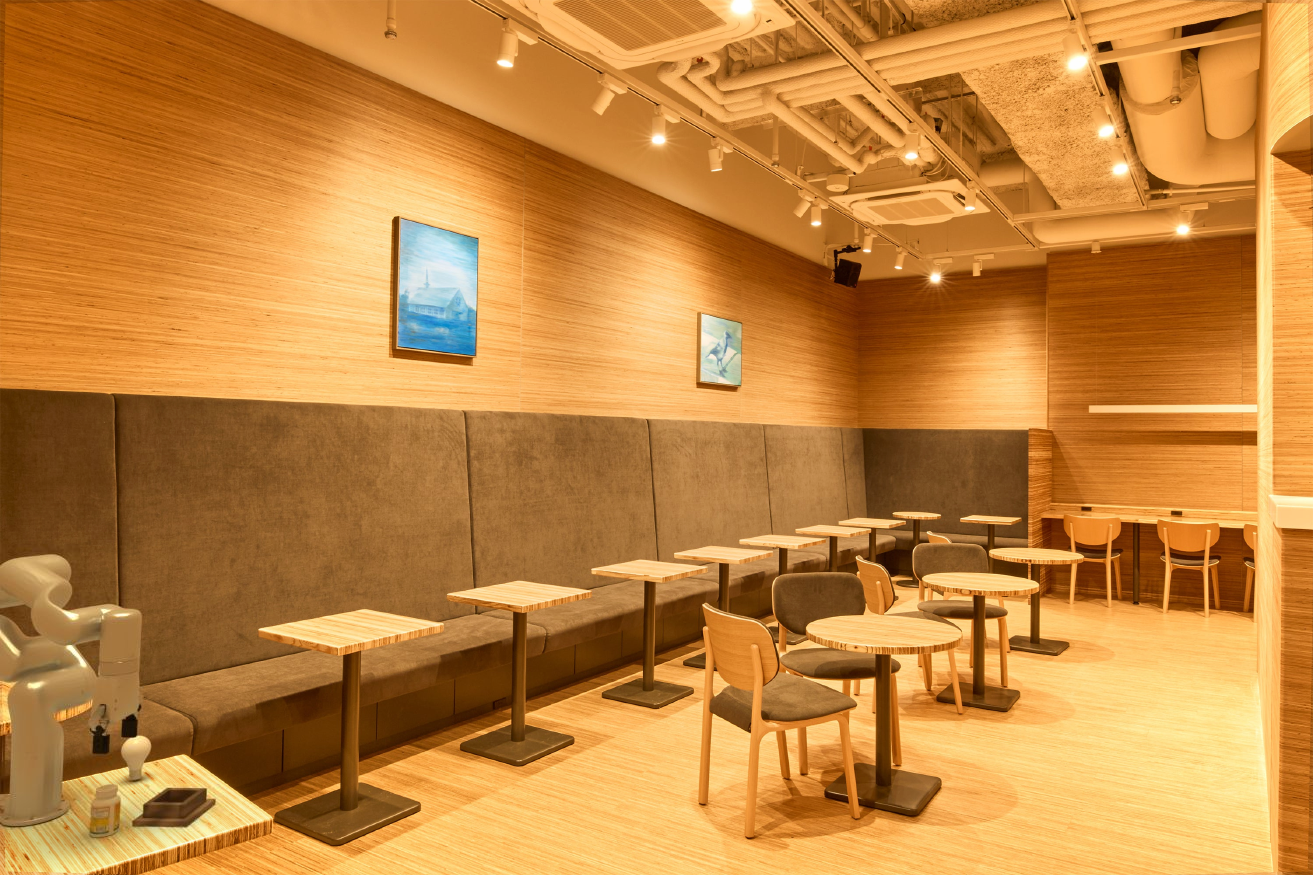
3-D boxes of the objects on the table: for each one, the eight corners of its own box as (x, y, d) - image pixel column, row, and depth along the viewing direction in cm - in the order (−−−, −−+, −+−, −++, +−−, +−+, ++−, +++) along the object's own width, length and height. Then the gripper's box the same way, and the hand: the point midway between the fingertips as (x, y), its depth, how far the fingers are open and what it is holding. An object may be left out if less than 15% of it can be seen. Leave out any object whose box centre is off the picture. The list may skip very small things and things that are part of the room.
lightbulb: (135, 786, 200) (136, 741, 200) (113, 783, 201) (115, 739, 201) (156, 776, 206) (157, 733, 206) (134, 774, 207) (136, 730, 208)
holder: (132, 826, 179) (132, 806, 179) (164, 802, 191) (165, 784, 191) (186, 826, 179) (187, 807, 179) (215, 803, 191) (216, 785, 191)
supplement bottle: (97, 840, 172) (98, 794, 172) (85, 833, 175) (86, 789, 175) (124, 830, 177) (126, 786, 177) (112, 824, 180) (113, 780, 180)
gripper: (126, 656, 186) (122, 730, 185) (74, 677, 169) (70, 759, 168) (159, 657, 186) (155, 731, 186) (111, 678, 169) (107, 760, 168)
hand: (115, 744), depth 177 cm, fingers open, 9 cm apart
